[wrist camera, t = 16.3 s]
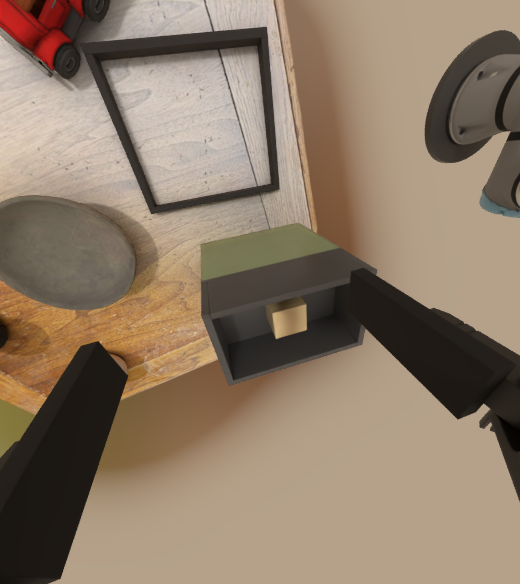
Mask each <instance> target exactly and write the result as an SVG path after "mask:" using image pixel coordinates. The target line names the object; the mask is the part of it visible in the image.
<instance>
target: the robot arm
mask: <svg viewBox="0 0 520 584" xmlns="http://www.w3.org/2000/svg"><path fill="white" fill-rule="evenodd" d="M505 131H511V132H510V134H509V136H508V139H507V141H506V143H505V145H504V147H503V149H502V151H501V154H500V156H499V158H498V160H497V162H496V164H495V167H494V169H493V171H492V173H491V175H490V178H489V179H488V182H487V184H486V185H485V186H484V188H483V192H482V195H481V198H480V206H481V207H482V208H483V209H485V210H486V211H488V212H491V213H494V214H502V215H503V216H509V217H516V218H520V55H519V54H503V55H497V56H494V57H491V58H488V59H486V60H484V61H482V62H480V63H479V64H477V65H476V66H475V67H474V68H473V69H472V70H471V71H470V72H469V73H468V74H467V75H466V76H465V78H464V79H463V80H462V82H461V83H460V85H459V86H458V88H457V90H456V92H455V94H454V96H453V98H452V100H451V103H450V106H449V109H448V113H447V118H446V132H447V136H448V138H449V140H450V141H451V142H452V143H454V144H457V145H465V144H471V143H475V142H477V141H480V140H483V139H485V138H488V137H490V136H493V135H496V134H498V133H501V132H505ZM347 310H348V311H349V312H350V313H351V314H352V315H353V316H354V317H355V318H356V319H357V320H358V321H359V322H360V323H361V324H362V325H363V326H364V327H365V328H366V329H367V330H368V331H369V332H370V333H371V334H372V335H373V336H374V337H375V338H376V339H377V340H378V341H379V342H380V343H381V344H382V345H383V346H384V347H385V348H386V349H387V350H388V351H389V352H390V353H391V354H392V355H393V356H394V357H395V358H396V359H397V360H398V361H399V362H400V363H401V364H402V365H403V366H404V367H405V368H406V369H407V370H408V371H409V372H410V373H411V374H412V375H413V376H414V377H415V378H417V380H418V381H419V382H421V384H423V386H425V387H426V389H428V390H429V391H430V392H431V393H432V394H433V395H434V396H435V397H436V398H437V399H438V400H439V401H440V402H441V403H442V404H443V405H444V406H445V407H446V408H447V409H448V410H449V411H450V412H451V413H452V414H453V415H454V416H455V417H456V418H457V419H460V418H463V417H465V416H467V415H470V414H472V413H475V412H476V411H477V410H478V409H479V408H480V407H481V406H482V405H483V403H484V404H485V405H486V406H488V407H489V408H490V410H489V411H488V412H487V413H486V414H485V416H484V417H483V418H482V419H481V420H480V428H483V429H484V428H485V427H486V426H487V425H488V424H489V423H490V422H491V423H492V426H491V428H490V431H493V432H495V434H496V436H497V440H498V442H499V445H500V448H501V451H502V453H503V456H504V459H505V462H506V465H507V467H508V470H509V473H510V476H511V478H512V481H513V484H514V487H515V490H516V492H517V495H518V498H519V501H520V355H518V354H516V353H515V352H513V351H511V350H509V349H508V348H506V347H505V346H503V345H501V344H499V343H497V342H496V341H494V340H493V339H491V338H489V337H488V336H486V335H484V334H483V333H481V332H479V331H476V330H475V329H474V328H473V327H471V326H469V325H468V324H464V323H463V321H461V320H459V319H458V318H456V317H454V316H453V315H451V314H449V313H446V312H444V311H441V310H438V309H435V308H432V309H428V308H427V307H425V306H424V305H422V304H420V303H419V302H417V301H416V300H414V299H413V298H411V297H409V296H408V295H406V294H405V293H403V292H401V291H400V290H398V289H396V288H395V287H393V286H392V285H390V284H389V283H387V282H385V281H384V280H382V279H381V278H379V277H378V276H376V275H374V274H373V273H371V272H370V271H368V270H367V269H365V268H360V269H357V270H353V271H351V276H350V285H349V295H348V304H347ZM127 378H128V375H127V374H126V373H125V371H124V370H123V369H122V368H121V367H120V366H119V365H118V363H117V362H116V361H115V360H114V359H113V358H112V356H111V355H110V354H109V353H108V352H107V351H106V350H105V348H104V347H103V346H102V345H101V344H100V343H99V342H98V341H97V342H94V343H90V344H86V345H83V346H81V347H80V348H79V350H78V351H77V353H76V354H75V356H74V357H73V359H72V361H71V362H70V364H69V365H68V367H67V368H66V370H65V371H64V373H63V374H62V376H61V377H60V379H59V381H58V382H57V384H56V385H55V387H54V388H53V390H52V391H51V393H50V394H49V396H48V397H47V399H46V401H45V402H44V404H43V405H42V407H41V408H40V410H39V411H38V413H37V414H36V416H35V418H34V419H33V421H32V422H31V424H30V425H29V427H28V428H27V430H26V432H25V433H24V435H23V436H22V438H21V439H20V441H17V442H15V443H14V444H13V445H12V446H11V447H10V448H9V449H8V450H7V451H6V452H5V454H4V455H3V456H2V457H1V458H0V584H48V583H51V582H53V581H56V580H58V579H60V578H61V576H62V573H63V569H64V567H65V564H66V560H67V558H68V554H69V552H70V549H71V545H72V542H73V539H74V537H75V534H76V531H77V527H78V525H79V522H80V519H81V516H82V512H83V510H84V507H85V503H86V501H87V498H88V495H89V492H90V489H91V486H92V483H93V480H94V477H95V474H96V471H97V468H98V465H99V462H100V459H101V456H102V453H103V450H104V447H105V444H106V441H107V438H108V435H109V432H110V429H111V426H112V423H113V420H114V417H115V414H116V411H117V408H118V405H119V402H120V399H121V396H122V393H123V390H124V387H125V384H126V381H127Z"/></svg>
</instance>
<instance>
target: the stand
mask: <svg viewBox="0 0 520 584" xmlns="http://www.w3.org/2000/svg"><path fill="white" fill-rule="evenodd" d="M336 248H340V247H338V246H337V245H335V244H333V243H331V242H330V241H328V240H327V239H325V238H323V237H322V236H320V235H318V234H317V233H315V232H313V231H312V230H310V229H308V228H307V227H305V226H303V225H302V224H300V223H295V224H291V225H286V226H282V227H277V228H273V229H268V230H263V231H259V232H254V233H250V234H245V235H240V236H236V237H231V238H227V239H222V240H218V241H213V242H208V243H204V244H201V281H204V280H208V279H212V278H216V277H220V276H224V275H229V274H233V273H237V272H241V271H245V270H249V269H253V268H258V267H262V266H266V265H270V264H274V263H278V262H282V261H287V260H291V259H295V258H299V257H303V256H307V255H312V254H316V253H320V252H324V251H328V250H332V249H336Z"/></svg>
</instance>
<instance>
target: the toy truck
mask: <svg viewBox="0 0 520 584" xmlns="http://www.w3.org/2000/svg"><path fill="white" fill-rule="evenodd" d="M68 1H69V4H68ZM108 6H109V0H0V35H1V36H2V37H3V38H4V39H5V40H6V41H8V42H9V43H10V44H11V45H12V46H13V47H15V48H16V49H17V50H18V51H19V52H20V53H22V54H23V55H24V56H25V57H26V58H27V59H29V60H30V61H31V62H32V63H33V64H34V65H36V66H37V67H38V68H39V69H40V70H41V71H43V72H44V73H45V74H46V75H47V76H49V77H52V75H53V74H52V73H51V72H50V71H49V70H48V69H46V68H45V67H44V66H43V65H42V63H43V64H44V65H46V66H48V67H49V68H50V69H51V70H55V71H57V72H58V73H59V74H60V75H61V76H62V77H63V78H65V79H70V78H72V77H73V76H74V75H75V74H76V72H77V71H78V69H79V66H80V60H81V59H80V54H79V52H78V51H77V50H76V49H75V48H74V47H73V46H72V45H71V44H70V43H73V41H74V39H75V37H76V35H77V33H78V31H79V29H80V27H81V25H82V22H83V20H84V17H85V14H84V12H85V13H86V14H87V15H88V16H89V17H90V18H91V20H92V21H94V22H95V23H96V22H100V21H101V20H102V19H103V18H104V16H105V15H106V12H107V10H108ZM83 11H84V12H83ZM27 51H28V52H29V53H31V54H32V55H34V56H35V58H34V57H33V56H31V55H30V54H29V53H28V52H27Z"/></svg>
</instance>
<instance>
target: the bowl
mask: <svg viewBox="0 0 520 584" xmlns="http://www.w3.org/2000/svg"><path fill="white" fill-rule="evenodd" d="M135 273H136V256H135V251H134V248H133V246H132V243H131V242H130V240H129V238H128V237H127V235H126V234H125V233H124V231H123V230H122V229H121V228H120V227H119V226H118V225H117V224H115V223H114V222H113V221H112V220H111V219H109V218H108V217H106V216H105V215H103V214H102V213H100V212H98V211H96V210H94V209H92V208H90V207H88V206H86V205H84V204H80V203H78V202H75V201H71V200H67V199H63V198H58V197H50V196H37V195H32V196H19V197H15V198H11V199H8V200H5V201H3V202H0V279H1V280H2V281H3V282H5V283H6V284H7V285H9V286H10V287H11V288H13V289H15V290H16V291H18V292H20V293H21V294H23V295H25V296H27V297H29V298H31V299H33V300H36V301H38V302H41V303H44V304H47V305H50V306H54V307H58V308H63V309H69V310H92V309H99V308H103V307H106V306H109V305H111V304H113V303H115V302H117V301H118V300H120V299H121V298H122V297H123V296H124V295H125V294H126V293H127V292H128V290H129V289H130V287H131V285H132V283H133V280H134V277H135Z"/></svg>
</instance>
